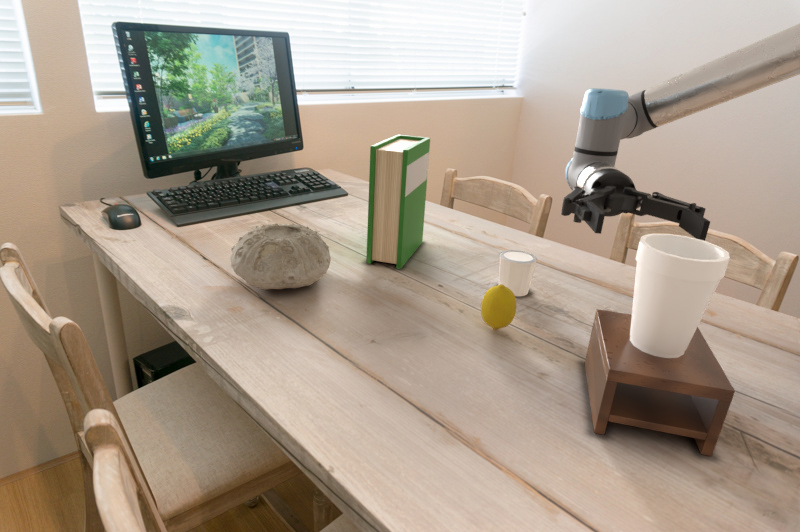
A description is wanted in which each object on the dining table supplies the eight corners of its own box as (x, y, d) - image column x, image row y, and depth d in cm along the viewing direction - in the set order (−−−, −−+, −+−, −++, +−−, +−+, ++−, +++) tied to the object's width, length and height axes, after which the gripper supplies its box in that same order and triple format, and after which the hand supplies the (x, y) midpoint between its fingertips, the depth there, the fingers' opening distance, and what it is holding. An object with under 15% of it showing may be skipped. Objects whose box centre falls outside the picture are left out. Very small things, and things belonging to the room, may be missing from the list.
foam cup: (600, 331, 68) (622, 236, 63) (653, 321, 72) (677, 230, 67) (660, 371, 60) (690, 265, 55) (716, 357, 64) (749, 257, 59)
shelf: (679, 380, 75) (696, 324, 72) (712, 456, 61) (735, 391, 57) (584, 363, 78) (596, 309, 74) (593, 433, 63) (609, 369, 60)
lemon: (498, 341, 82) (504, 295, 79) (471, 327, 86) (476, 282, 83) (519, 331, 86) (526, 286, 83) (493, 318, 90) (499, 274, 87)
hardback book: (400, 269, 107) (408, 150, 98) (366, 263, 109) (370, 146, 100) (422, 242, 123) (430, 137, 114) (392, 237, 125) (397, 134, 116)
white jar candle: (504, 279, 105) (509, 246, 103) (537, 289, 102) (542, 255, 99) (488, 290, 100) (493, 256, 97) (522, 301, 96) (528, 265, 94)
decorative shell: (331, 301, 92) (331, 247, 88) (224, 302, 89) (220, 247, 85) (329, 262, 108) (329, 216, 104) (239, 262, 106) (236, 214, 102)
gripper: (675, 216, 90) (740, 260, 71) (528, 205, 92) (552, 247, 72) (686, 172, 88) (757, 206, 68) (534, 162, 89) (561, 193, 69)
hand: (652, 227), depth 70 cm, fingers open, 13 cm apart
